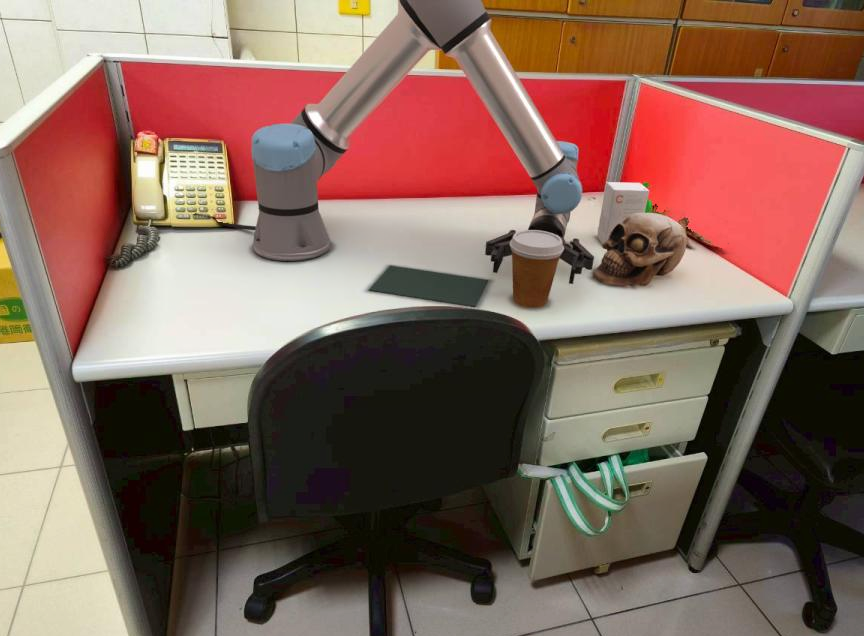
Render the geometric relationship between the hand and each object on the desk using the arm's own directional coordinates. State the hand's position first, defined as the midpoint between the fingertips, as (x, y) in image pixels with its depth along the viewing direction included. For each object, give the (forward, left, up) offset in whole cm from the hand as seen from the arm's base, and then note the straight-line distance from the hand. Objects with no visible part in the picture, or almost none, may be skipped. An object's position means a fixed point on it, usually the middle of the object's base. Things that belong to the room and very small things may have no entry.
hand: (533, 271), depth 110 cm
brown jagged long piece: (+33, +48, -7) cm, 58 cm away
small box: (+15, +40, -7) cm, 43 cm away
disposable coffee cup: (0, +2, -7) cm, 7 cm away
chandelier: (+21, +68, -7) cm, 71 cm away
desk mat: (-19, +2, -7) cm, 20 cm away
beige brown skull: (+19, +22, -7) cm, 30 cm away
